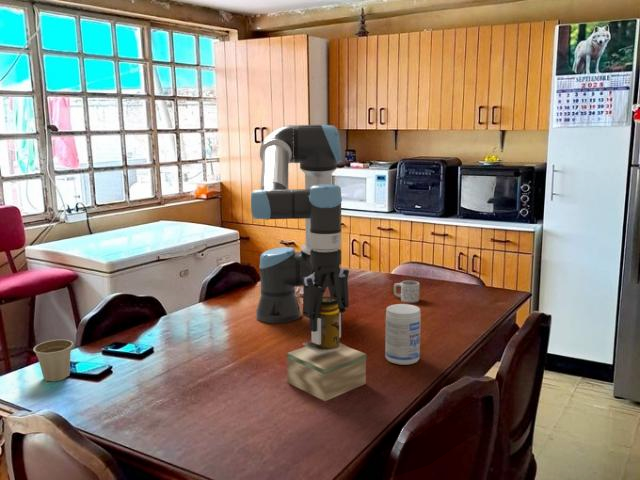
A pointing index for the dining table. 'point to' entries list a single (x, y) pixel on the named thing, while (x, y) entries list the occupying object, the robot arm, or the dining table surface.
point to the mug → (408, 291)
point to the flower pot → (54, 359)
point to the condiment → (328, 326)
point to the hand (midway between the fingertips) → (326, 339)
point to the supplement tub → (402, 334)
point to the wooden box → (326, 371)
